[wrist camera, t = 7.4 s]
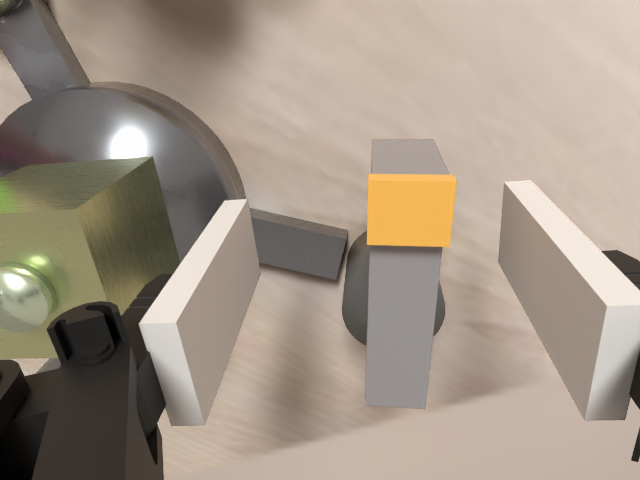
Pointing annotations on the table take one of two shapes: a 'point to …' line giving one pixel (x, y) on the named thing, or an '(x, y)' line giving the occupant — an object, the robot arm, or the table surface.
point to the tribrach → (109, 190)
